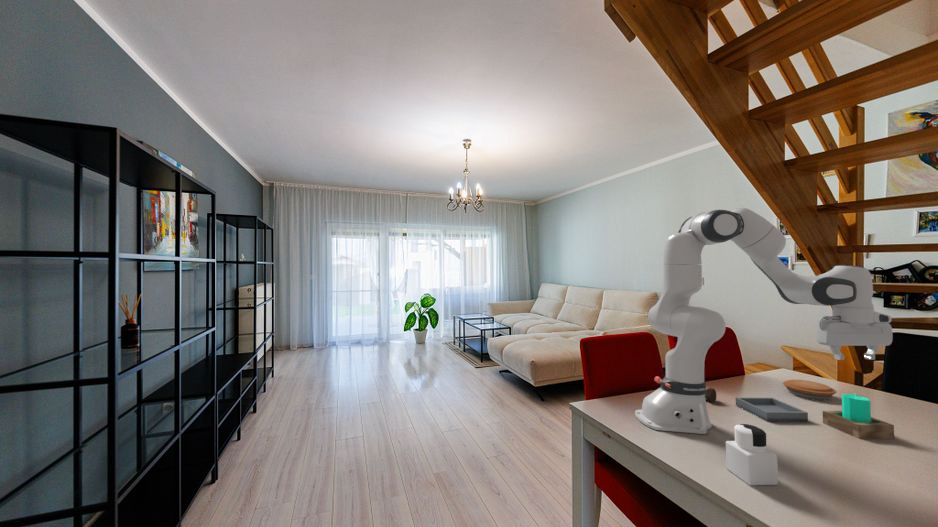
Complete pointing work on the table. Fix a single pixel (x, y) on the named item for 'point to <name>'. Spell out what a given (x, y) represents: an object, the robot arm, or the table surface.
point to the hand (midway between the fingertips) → (854, 359)
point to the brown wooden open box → (859, 426)
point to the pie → (809, 389)
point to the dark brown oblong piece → (711, 395)
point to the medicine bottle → (751, 456)
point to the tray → (772, 409)
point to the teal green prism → (856, 408)
